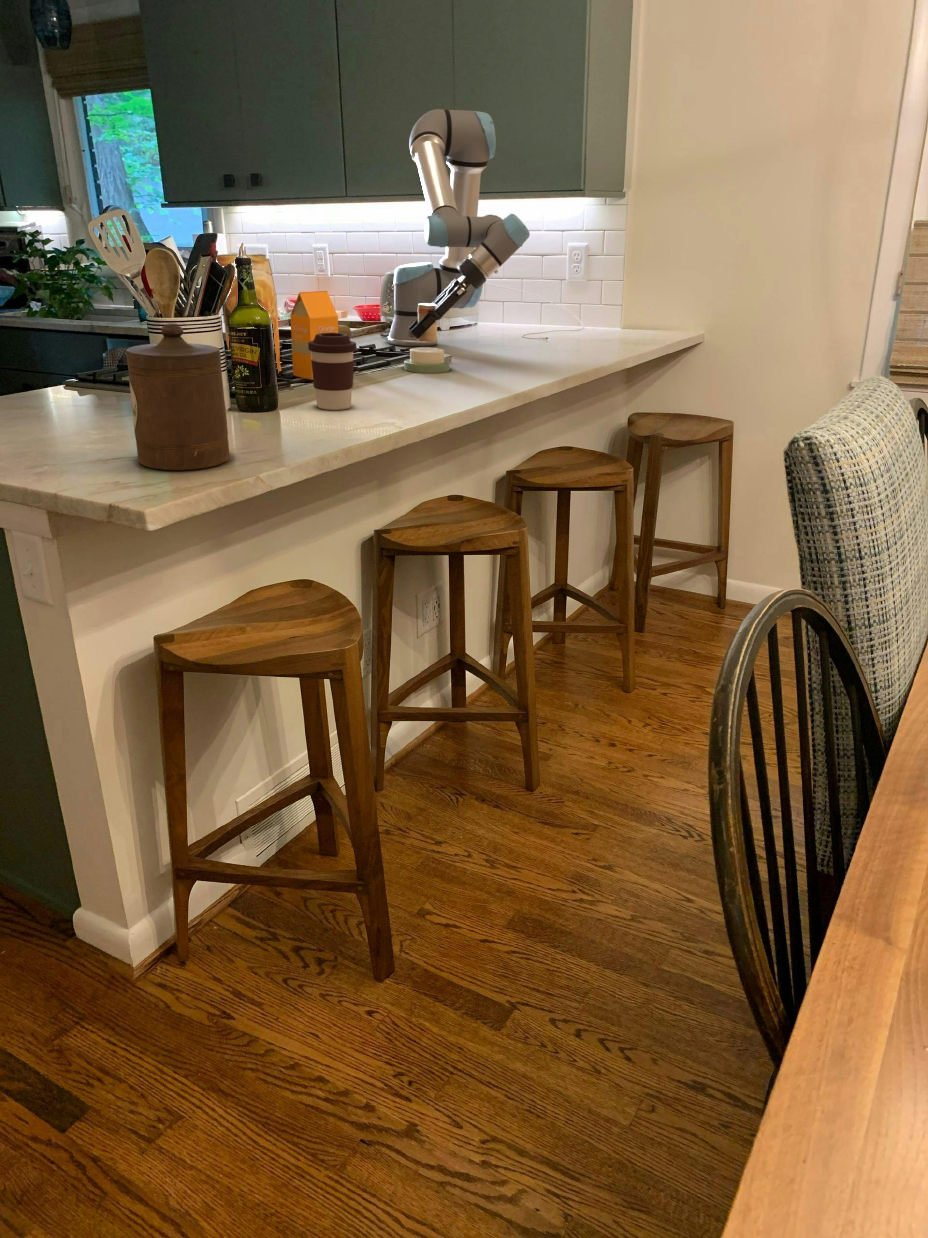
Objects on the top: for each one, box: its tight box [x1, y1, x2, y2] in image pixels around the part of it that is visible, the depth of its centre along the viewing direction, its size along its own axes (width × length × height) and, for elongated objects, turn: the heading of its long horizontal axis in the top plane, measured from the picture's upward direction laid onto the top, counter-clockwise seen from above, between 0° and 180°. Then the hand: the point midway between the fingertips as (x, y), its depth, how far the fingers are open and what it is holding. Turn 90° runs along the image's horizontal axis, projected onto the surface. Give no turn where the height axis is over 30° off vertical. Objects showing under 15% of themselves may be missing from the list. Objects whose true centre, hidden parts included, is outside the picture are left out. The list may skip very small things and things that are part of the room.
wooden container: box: [126, 322, 230, 471], centre depth 153 cm, size 15×15×22 cm
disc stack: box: [403, 346, 451, 374], centre depth 246 cm, size 12×12×5 cm
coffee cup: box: [308, 333, 357, 411], centre depth 197 cm, size 10×10×15 cm
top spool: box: [418, 303, 438, 342], centre depth 242 cm, size 5×5×9 cm
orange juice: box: [290, 290, 339, 381], centre depth 229 cm, size 8×9×20 cm
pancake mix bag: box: [217, 253, 282, 374], centre depth 226 cm, size 7×19×28 cm, turn 141°
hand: (413, 333), depth 243 cm, fingers closed on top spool, 5 cm apart
